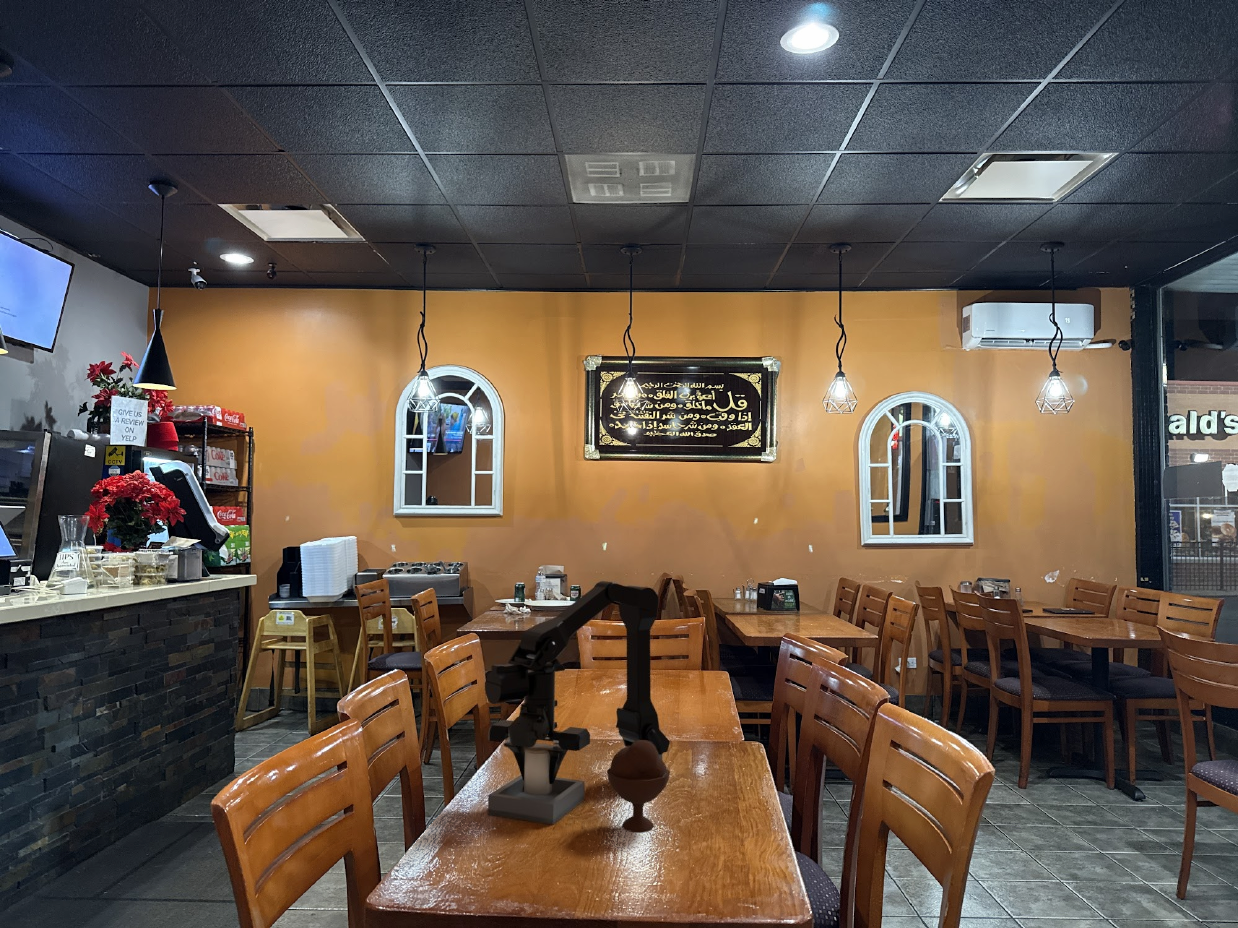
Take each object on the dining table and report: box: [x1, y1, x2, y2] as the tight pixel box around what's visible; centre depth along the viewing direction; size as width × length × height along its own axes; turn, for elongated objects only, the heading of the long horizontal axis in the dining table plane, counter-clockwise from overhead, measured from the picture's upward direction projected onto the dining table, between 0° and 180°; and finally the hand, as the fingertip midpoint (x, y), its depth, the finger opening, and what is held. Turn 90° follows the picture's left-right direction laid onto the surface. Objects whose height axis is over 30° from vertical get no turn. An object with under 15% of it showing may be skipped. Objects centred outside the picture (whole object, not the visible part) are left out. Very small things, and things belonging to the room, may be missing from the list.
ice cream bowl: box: [606, 740, 671, 833], centre depth 142 cm, size 11×11×15 cm
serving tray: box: [487, 774, 586, 826], centre depth 151 cm, size 13×14×4 cm
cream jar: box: [524, 742, 553, 796], centre depth 151 cm, size 5×5×8 cm
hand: (538, 781), depth 151 cm, fingers closed on cream jar, 5 cm apart
